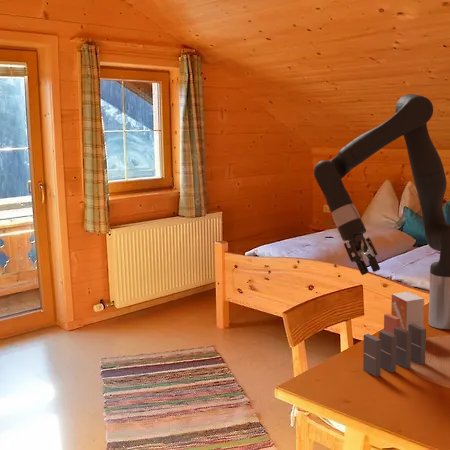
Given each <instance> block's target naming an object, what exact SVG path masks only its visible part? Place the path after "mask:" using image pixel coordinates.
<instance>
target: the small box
mask: <svg viewBox="0 0 450 450" xmlns="http://www.w3.org/2000/svg"><path fill="white" fill-rule="evenodd" d="M424 310H425V298H423V297H421V296H419V295H417V294H414V293H412V292H410V291H404V292H403V291H402V292H397V293H392V294H391V310H390V311H391V313H390V314H391V315H393V316H396V317H398V318H400V328H402V329H405V330H407V331H408V326H409V324H415V325H418V326H420V327H423V328H424V315H425V313H424V312H425V311H424Z"/></svg>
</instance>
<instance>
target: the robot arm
mask: <svg viewBox="0 0 450 450" xmlns="http://www.w3.org/2000/svg"><path fill="white" fill-rule="evenodd" d="M394 111H395V113H394V114H393V115H392V116H391V117H390V118H388V119H387V120H386V121H384V122H383V123H381V124H379V125H377V126H376V127H374V128H371V129H370V130H368V131H366V132H364V133H362V134H360V135H358V137H355V138H354V139H353V140H351V141H350V142H349V143H347V144H346V145H345V146H343V147H342V148H341V149H340V150H339V151H338V153H337V154H336V155H335V156H334V157H333V158H332V159H331V160H327V159H324V160H323V159H322V160H320V161H318V162H317V163H316V164H315V166H314V169H313V177H314V179H315V180H316V183H317V184H318V186H319V188H320V190H321V191H322V194H323V195H324V198H325V201H326V204H327V206H328V208H329V211H330V213H331V215H332V220H333V222H334V224H335V226H336V228H337V231H338V233H339V235H340V238H341V239H342V241H343V242H344V243H343V245H344V248H345V250H346V253H347V255H348V257H349V258H348V259H349V260H350V261H351V263H354V264H356V266H357V268H358V271H359V272H360V274H361V275H362V276H364V275H366V274H368V273H369V269H368V267H367V264H366V262H365V260H364V258H366V259H367V260H368V264H369V266H370V267H371V268H370V269H372V270H371V271H372V272H374V273H375V272H378V271H381V270H380V269H381V267H380V264H379V262H378V261H377V259H376V258H377V256H378V252H377V250H376V247H375V245H374V243H373V242H372V240H371V238H370V236H368V237H365V235H364V234H365V233H367V229H366V225H364V221H363V220H362V217H361V216H360V214H359V211H358V210H357V208H356V206H355V205H354V202H353V201H352V199H351V195H350V194H349V192H348V190H347V189H346V187H345V186H344V183H343V180H342V179H343V178H344V177H345V176H347V174H349V173H350V172H351V171H352V170H353V169H354V168H356V167H358V166H359V165H360V164H362V163H364V161H366V160H367V159H369V158H370V157H371V156H373V155H375V154H376V153H377V152H379V151H380V150H382V149H383V148H385V147H386V146H388V145H389V144H391V143H392V142H394V141H396V140H397V139H399V138H401V137H403V138H404V142H405V145H406V149H407V151H406V152H407V155H408V161H409V164H410V169H411V175H412V179H413V183H414V186H415V189H416V193H417V197H418V201H419V205H420V209H421V214H422V222H423V228H424V237H425V240H426V243H427V245H428V246H429V247H430V248H431V249H432V250H434V251H437V252H439V260H438V261H435V262H432V263H431V265H430V267H429V270H430V271H429V272H430V273H429V299H428V304H429V305H428V325H429V326H431V327H433V328H436V329H441V330H450V223H447V220H446V218H445V213H444V210H443V201H444V198H445V194H446V190H447V183H448V182H447V177H446V172H445V169H444V164H443V162H442V159H441V157H440V155H439V153H438V151H437V148H436V146H435V145H434V143H433V141H432V139H431V137H430V134H429V130H428V125H427V123H428V122H430V120H431V118H432V117H433V114H434V105H433V103H432V101H431V100H430V99H429V98H428V97H425V96H424V95H420V94H416V93H415V94H414V93H413V94H412V93H410V94H405V95H402V96H401V97H400V98H399V99H398V100H397V102H396V104H395V109H394Z"/></svg>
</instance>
